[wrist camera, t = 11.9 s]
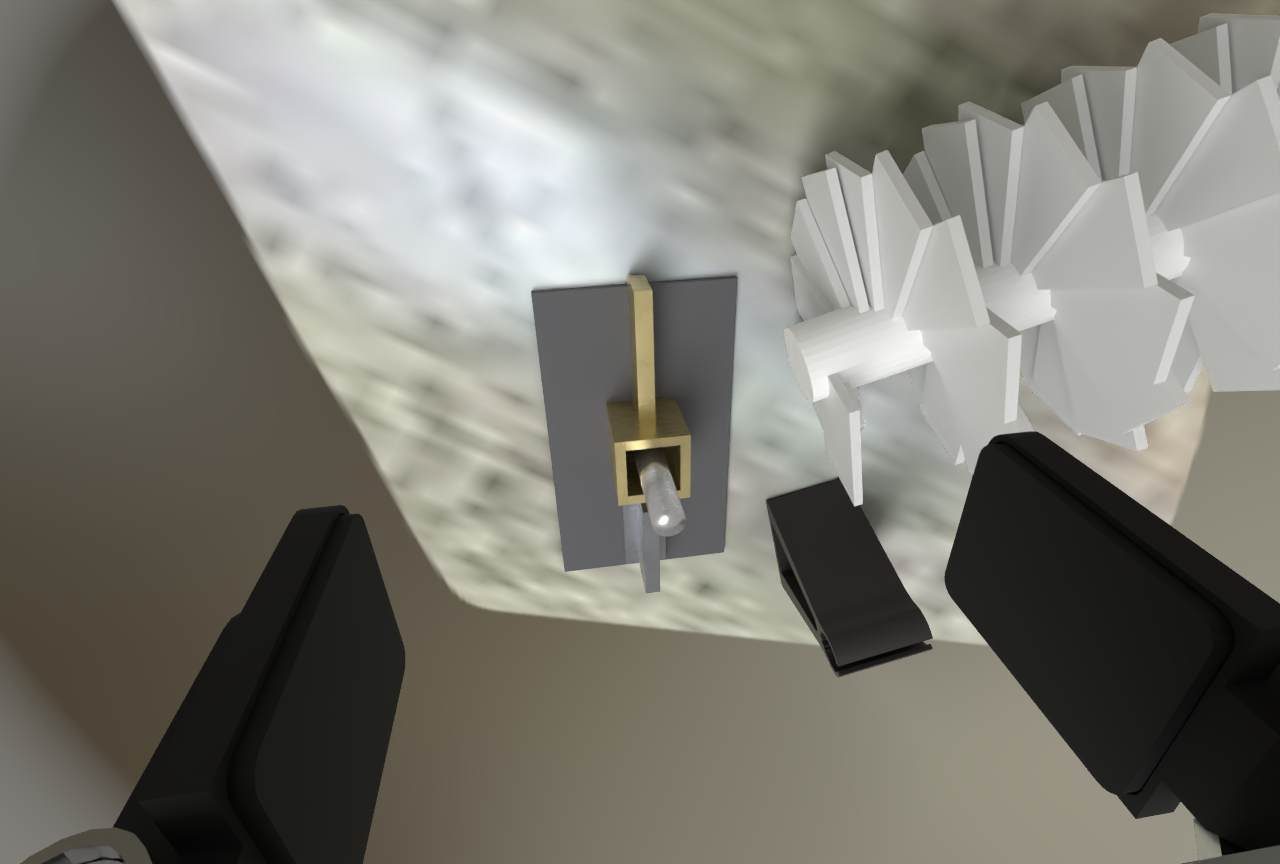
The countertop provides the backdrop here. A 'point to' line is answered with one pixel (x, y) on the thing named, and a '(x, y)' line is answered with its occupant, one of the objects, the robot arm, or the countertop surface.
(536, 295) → the mat
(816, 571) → the phone stand
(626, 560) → the fixed leaf
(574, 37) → the countertop surface
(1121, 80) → the spiral staircase
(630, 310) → the loose leaf
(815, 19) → the countertop surface
